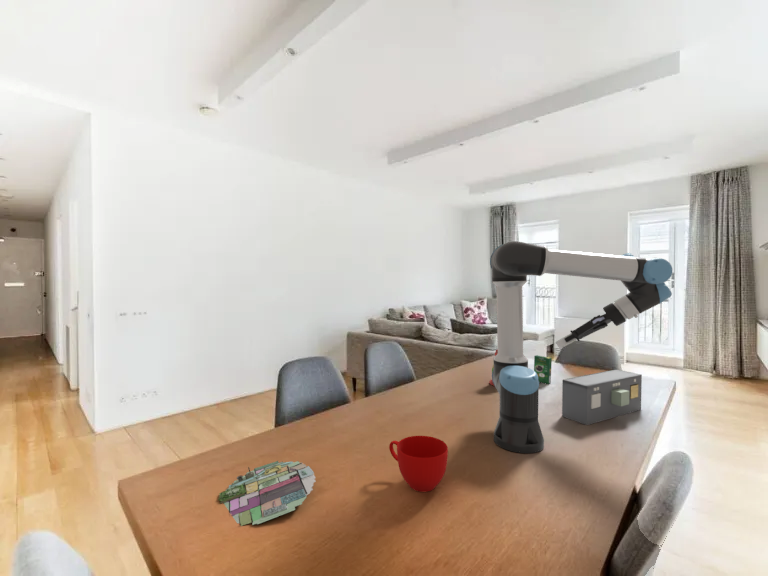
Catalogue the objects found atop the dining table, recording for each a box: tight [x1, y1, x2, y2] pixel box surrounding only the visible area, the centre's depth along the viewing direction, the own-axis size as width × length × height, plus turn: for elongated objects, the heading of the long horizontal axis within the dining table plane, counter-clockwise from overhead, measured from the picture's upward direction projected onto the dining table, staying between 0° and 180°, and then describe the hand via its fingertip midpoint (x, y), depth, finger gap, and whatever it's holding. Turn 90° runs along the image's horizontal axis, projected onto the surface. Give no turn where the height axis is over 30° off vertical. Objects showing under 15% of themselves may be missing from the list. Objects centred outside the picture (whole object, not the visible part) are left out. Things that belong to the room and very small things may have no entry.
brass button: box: [630, 384, 638, 399], centre depth 150 cm, size 6×5×5 cm
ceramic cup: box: [388, 435, 449, 493], centre depth 98 cm, size 13×17×10 cm
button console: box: [561, 368, 642, 426], centre depth 147 cm, size 10×34×14 cm, turn 118°
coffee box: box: [533, 354, 553, 385], centre depth 189 cm, size 8×3×13 cm, turn 44°
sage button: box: [611, 388, 629, 406], centre depth 142 cm, size 6×5×5 cm
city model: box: [217, 460, 317, 527], centre depth 92 cm, size 25×24×6 cm
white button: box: [591, 393, 601, 409], centre depth 139 cm, size 6×5×5 cm
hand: (557, 345), depth 139 cm, fingers closed
